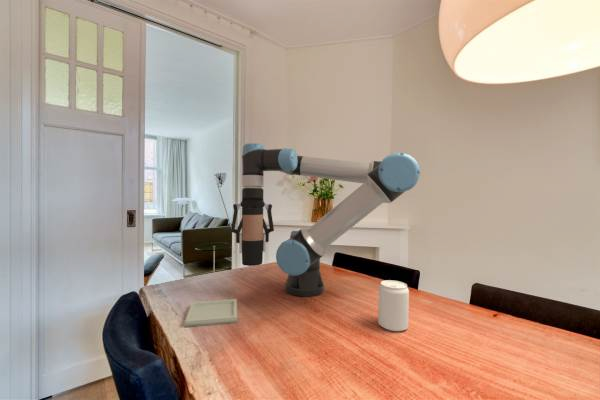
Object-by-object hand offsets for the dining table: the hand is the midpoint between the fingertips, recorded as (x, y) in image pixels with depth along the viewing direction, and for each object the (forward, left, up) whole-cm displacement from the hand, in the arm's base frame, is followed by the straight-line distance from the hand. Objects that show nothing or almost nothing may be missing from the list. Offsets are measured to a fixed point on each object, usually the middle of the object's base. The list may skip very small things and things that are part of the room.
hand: (252, 251), depth 97 cm
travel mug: (0, 0, -4) cm, 4 cm away
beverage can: (-38, +30, -17) cm, 51 cm away
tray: (+12, +12, -16) cm, 24 cm away
